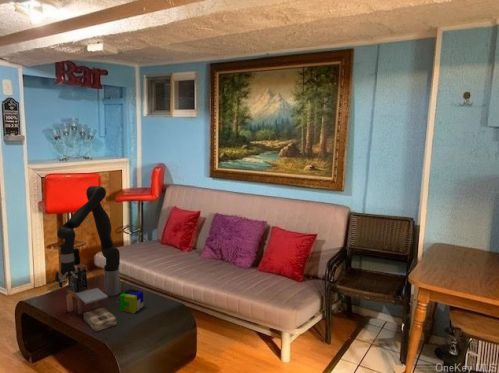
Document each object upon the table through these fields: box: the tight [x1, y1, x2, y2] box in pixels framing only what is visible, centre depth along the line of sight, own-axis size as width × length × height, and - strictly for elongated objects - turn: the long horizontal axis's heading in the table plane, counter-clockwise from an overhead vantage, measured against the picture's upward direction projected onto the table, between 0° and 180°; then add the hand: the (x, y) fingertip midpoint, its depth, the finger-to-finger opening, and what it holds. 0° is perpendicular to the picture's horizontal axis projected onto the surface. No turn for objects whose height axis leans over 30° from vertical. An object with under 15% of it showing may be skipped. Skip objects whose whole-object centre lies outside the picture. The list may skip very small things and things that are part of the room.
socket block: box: [82, 306, 118, 332], centre depth 227 cm, size 12×18×4 cm, turn 43°
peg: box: [65, 293, 74, 313], centre depth 240 cm, size 3×3×10 cm
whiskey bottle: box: [67, 248, 89, 300], centre depth 261 cm, size 10×10×32 cm
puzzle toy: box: [119, 288, 145, 314], centre depth 244 cm, size 10×10×10 cm
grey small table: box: [76, 287, 109, 315], centre depth 234 cm, size 13×16×13 cm
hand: (68, 285), depth 238 cm, fingers open, 8 cm apart
